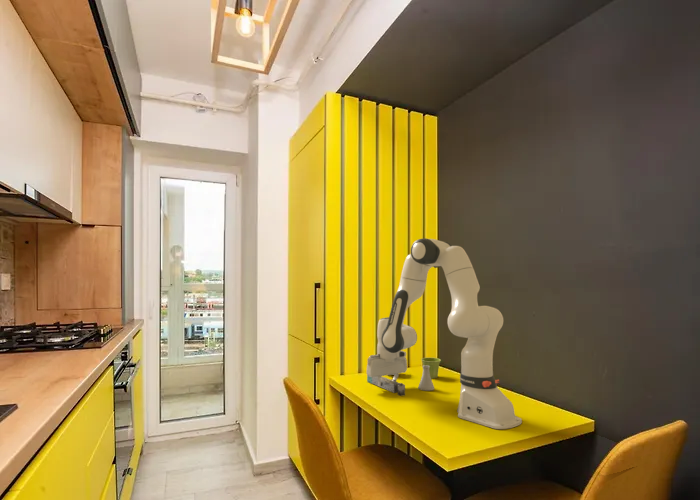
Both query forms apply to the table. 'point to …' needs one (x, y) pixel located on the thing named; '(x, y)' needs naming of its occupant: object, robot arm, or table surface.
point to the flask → (426, 380)
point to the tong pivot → (401, 389)
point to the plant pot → (432, 366)
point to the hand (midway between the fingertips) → (387, 384)
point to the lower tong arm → (390, 380)
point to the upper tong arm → (386, 384)
